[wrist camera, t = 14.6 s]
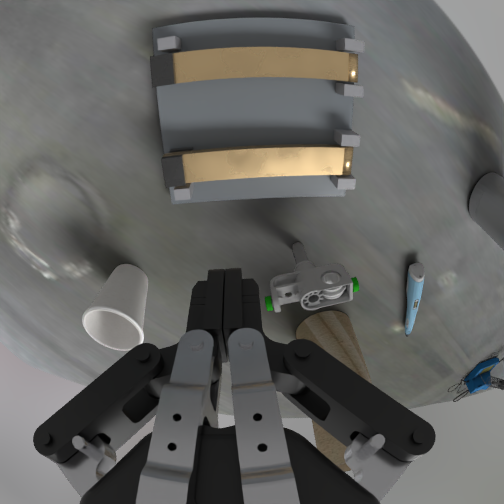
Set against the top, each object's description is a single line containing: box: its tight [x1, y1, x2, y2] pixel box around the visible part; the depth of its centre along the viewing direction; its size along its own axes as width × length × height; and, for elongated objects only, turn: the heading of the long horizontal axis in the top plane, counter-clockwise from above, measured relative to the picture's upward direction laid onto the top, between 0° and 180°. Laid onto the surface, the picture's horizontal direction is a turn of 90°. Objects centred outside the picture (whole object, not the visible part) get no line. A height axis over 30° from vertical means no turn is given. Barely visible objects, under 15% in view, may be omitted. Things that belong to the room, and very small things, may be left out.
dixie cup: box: [82, 264, 148, 350], centre depth 36 cm, size 8×8×10 cm
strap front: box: [150, 47, 358, 87], centre depth 22 cm, size 19×3×2 cm, turn 92°
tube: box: [296, 311, 372, 472], centre depth 39 cm, size 10×10×25 cm
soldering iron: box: [448, 358, 504, 402], centre depth 76 cm, size 35×31×18 cm
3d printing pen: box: [405, 262, 424, 337], centre depth 45 cm, size 19×3×3 cm, turn 18°
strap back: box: [161, 144, 353, 188], centre depth 28 cm, size 19×3×2 cm, turn 92°
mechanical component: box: [265, 242, 359, 312], centre depth 34 cm, size 3×10×10 cm, turn 103°
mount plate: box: [152, 18, 364, 204], centre depth 26 cm, size 20×20×4 cm
